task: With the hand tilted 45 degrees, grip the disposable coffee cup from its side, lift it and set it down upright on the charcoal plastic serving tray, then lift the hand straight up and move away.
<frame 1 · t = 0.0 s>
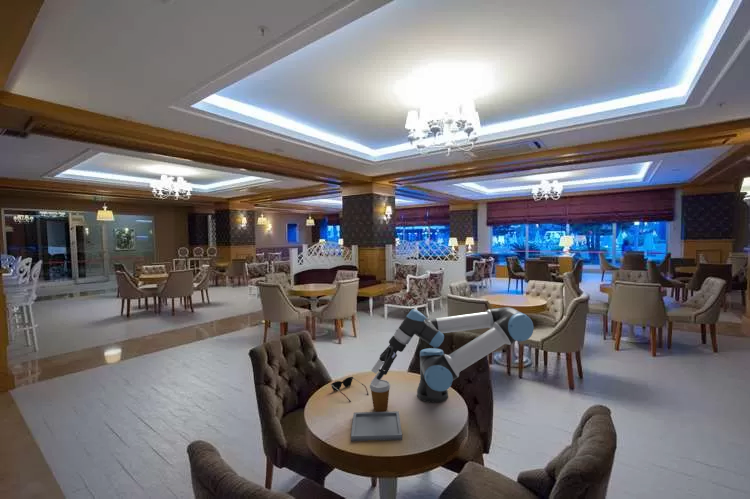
hand: (373, 377, 161), 15 cm above the table, tool tilted 35°, fingers open, 13 cm apart
disposable coffee cup: (380, 409, 163), on the table
sunglasses: (350, 394, 180), on the table
serving tray: (376, 427, 148), on the table
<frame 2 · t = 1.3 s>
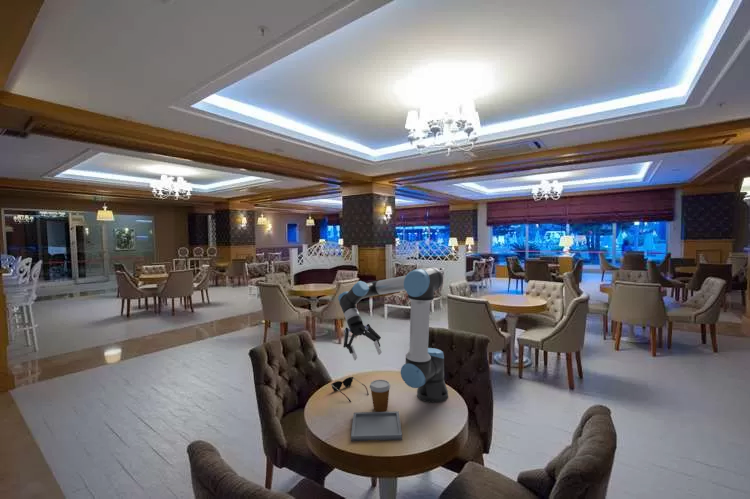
hand: (368, 356, 171), 22 cm above the table, tool tilted 45°, fingers open, 13 cm apart
nothing on the table moved.
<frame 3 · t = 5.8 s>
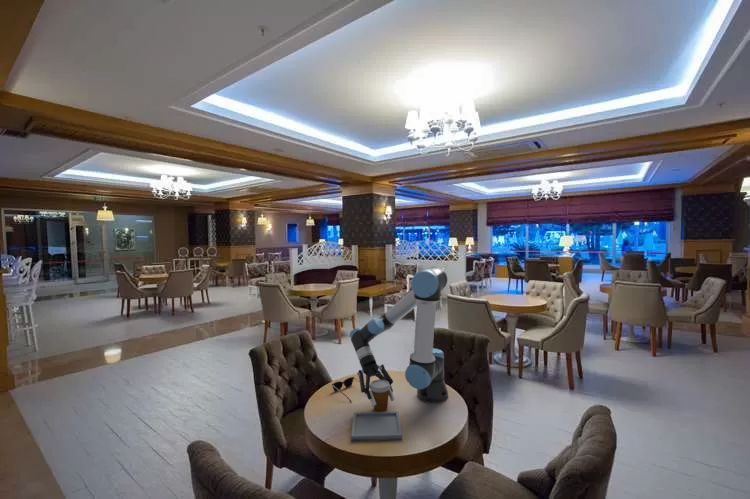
hand: (384, 402, 160), 4 cm above the table, tool tilted 45°, fingers closed on disposable coffee cup, 9 cm apart
disposable coffee cup: (380, 409, 163), on the table, touching gripper
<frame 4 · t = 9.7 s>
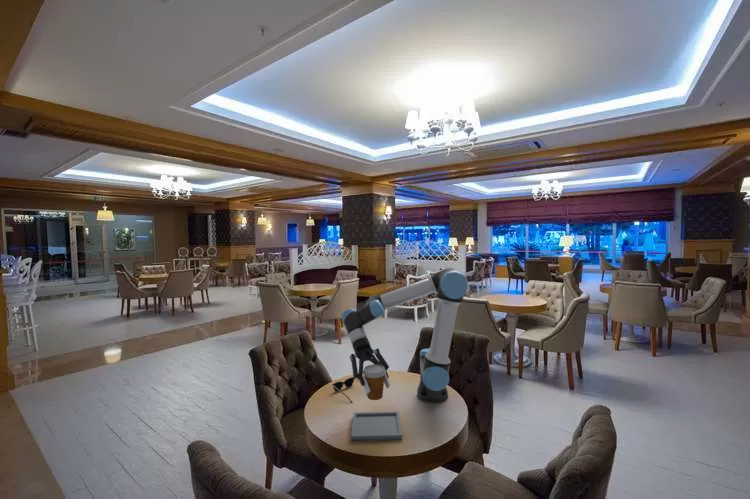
hand: (378, 389, 144), 17 cm above the table, tool tilted 45°, fingers closed on disposable coffee cup, 9 cm apart
disposable coffee cup: (375, 397, 147), point 13 cm above the table, touching gripper
when the fingers open (6 cm above the table, at t = 13.2 s): disposable coffee cup moves 4 cm, resting on serving tray.
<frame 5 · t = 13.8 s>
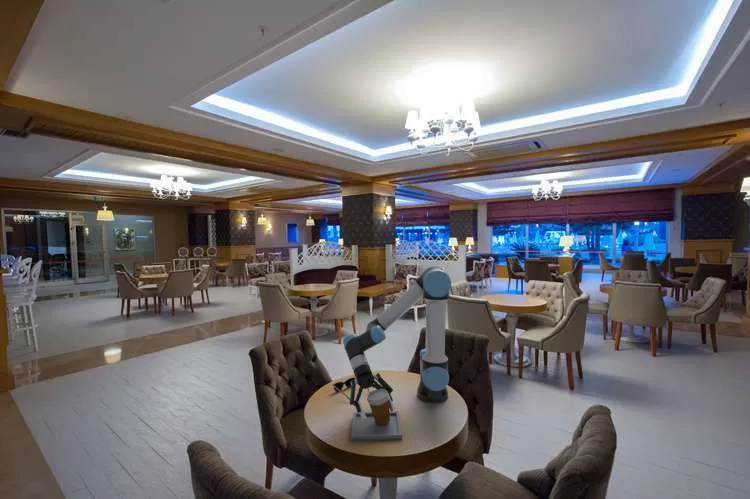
hand: (379, 415, 145), 6 cm above the table, tool tilted 45°, fingers open, 13 cm apart
disposable coffee cup: (382, 421, 150), point 1 cm above the table, touching gripper, serving tray
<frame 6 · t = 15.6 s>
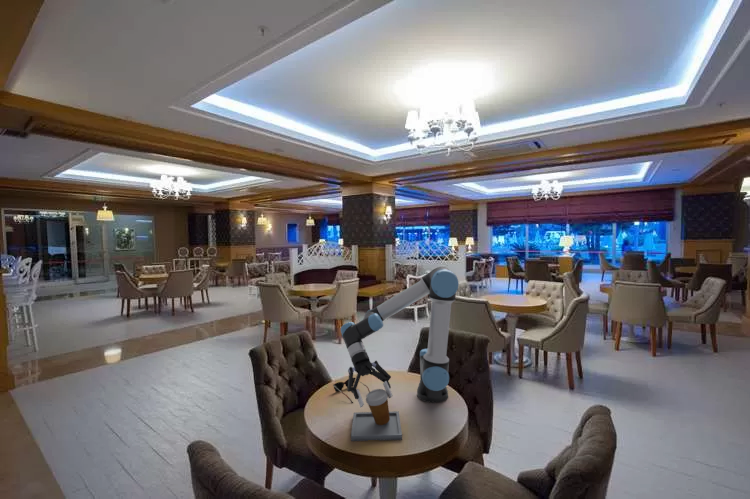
hand: (376, 401, 145), 12 cm above the table, tool tilted 45°, fingers open, 13 cm apart
disposable coffee cup: (382, 420, 150), point 2 cm above the table, touching serving tray
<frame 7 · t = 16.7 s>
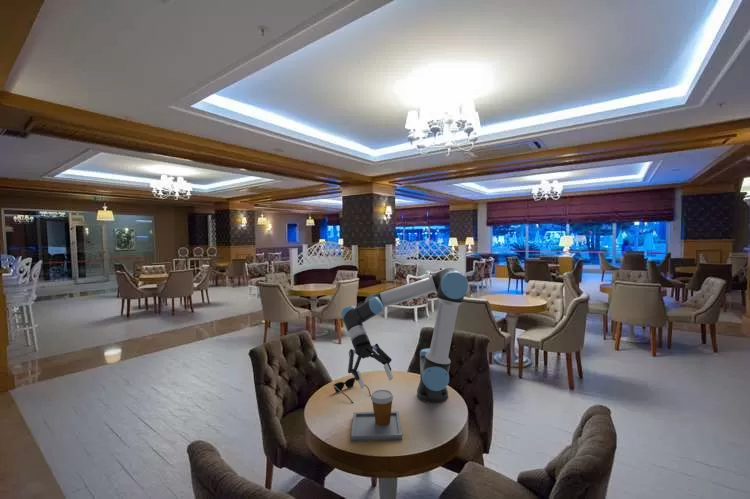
hand: (377, 383, 145), 20 cm above the table, tool tilted 45°, fingers open, 13 cm apart
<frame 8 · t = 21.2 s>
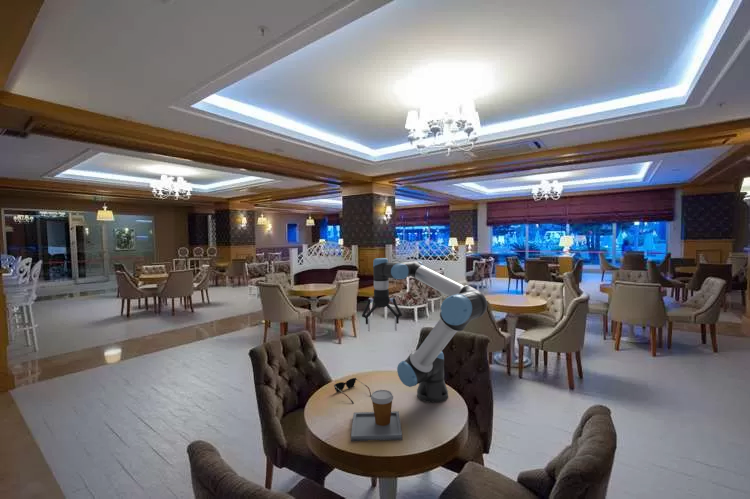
hand: (382, 330, 179), 32 cm above the table, tool pointing down, fingers open, 13 cm apart
at the end: disposable coffee cup inside the target area on the serving tray (3.7 cm from its centre), point 0.8 cm above the serving tray's base; disposable coffee cup tilted 0°; the gripper is holding nothing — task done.
